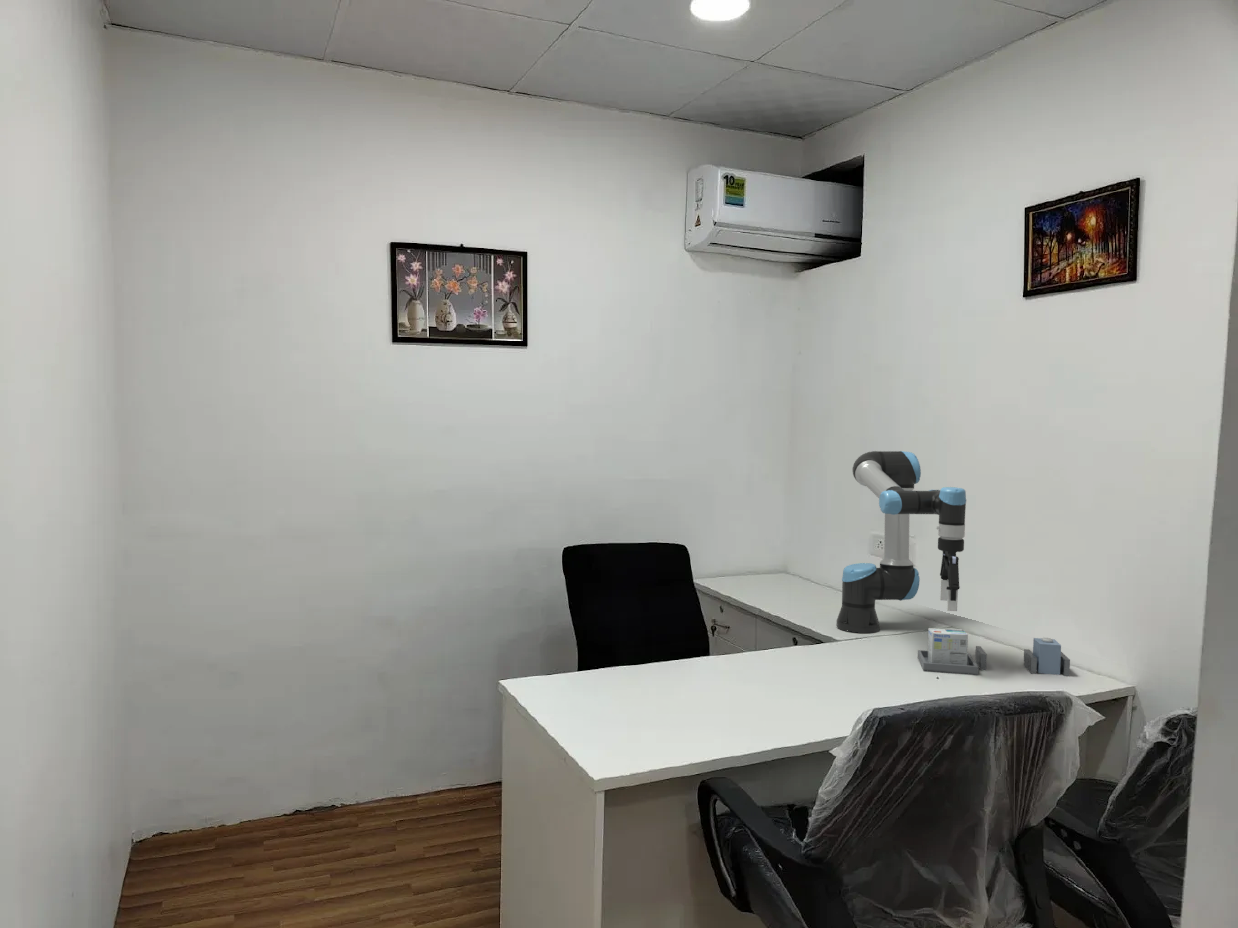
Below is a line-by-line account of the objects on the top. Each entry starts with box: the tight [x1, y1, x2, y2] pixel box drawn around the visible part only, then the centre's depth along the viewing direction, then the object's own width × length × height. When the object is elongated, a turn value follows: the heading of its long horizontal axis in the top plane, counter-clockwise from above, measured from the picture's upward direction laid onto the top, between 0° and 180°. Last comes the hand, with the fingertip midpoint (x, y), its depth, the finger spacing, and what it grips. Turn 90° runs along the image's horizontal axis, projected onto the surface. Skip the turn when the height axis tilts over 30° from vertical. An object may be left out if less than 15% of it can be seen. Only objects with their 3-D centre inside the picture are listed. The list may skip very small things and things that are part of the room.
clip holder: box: [974, 645, 1071, 677], centre depth 259 cm, size 9×25×5 cm, turn 77°
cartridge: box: [1032, 637, 1062, 675], centre depth 258 cm, size 7×6×10 cm
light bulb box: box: [927, 627, 969, 665], centre depth 261 cm, size 11×7×11 cm, turn 82°
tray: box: [916, 649, 979, 676], centre depth 261 cm, size 15×16×2 cm
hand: (948, 605), depth 260 cm, fingers open, 13 cm apart
